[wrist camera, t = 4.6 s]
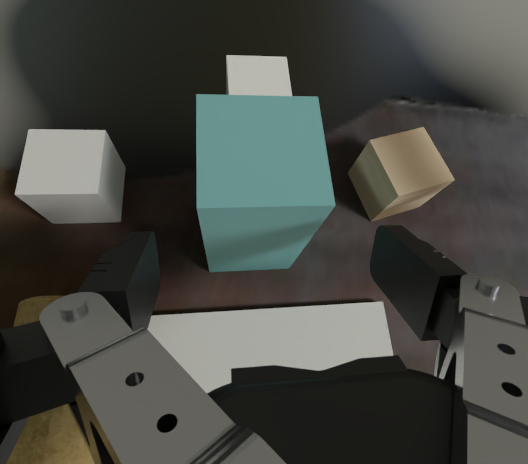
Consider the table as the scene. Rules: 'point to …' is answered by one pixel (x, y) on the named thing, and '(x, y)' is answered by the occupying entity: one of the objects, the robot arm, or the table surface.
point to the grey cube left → (72, 176)
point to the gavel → (47, 416)
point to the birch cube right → (398, 173)
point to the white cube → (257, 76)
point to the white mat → (272, 338)
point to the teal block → (260, 179)
